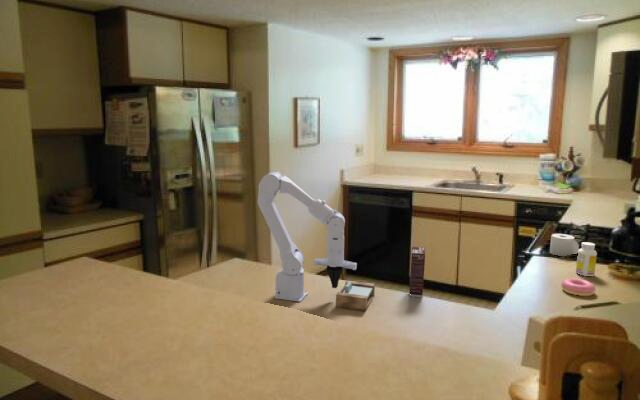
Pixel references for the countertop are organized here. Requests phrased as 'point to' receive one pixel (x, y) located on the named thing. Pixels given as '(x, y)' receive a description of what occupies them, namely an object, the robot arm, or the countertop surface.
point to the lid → (357, 289)
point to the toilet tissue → (563, 245)
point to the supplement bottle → (586, 259)
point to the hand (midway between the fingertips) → (334, 287)
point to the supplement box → (417, 272)
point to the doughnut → (578, 287)
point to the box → (354, 298)
